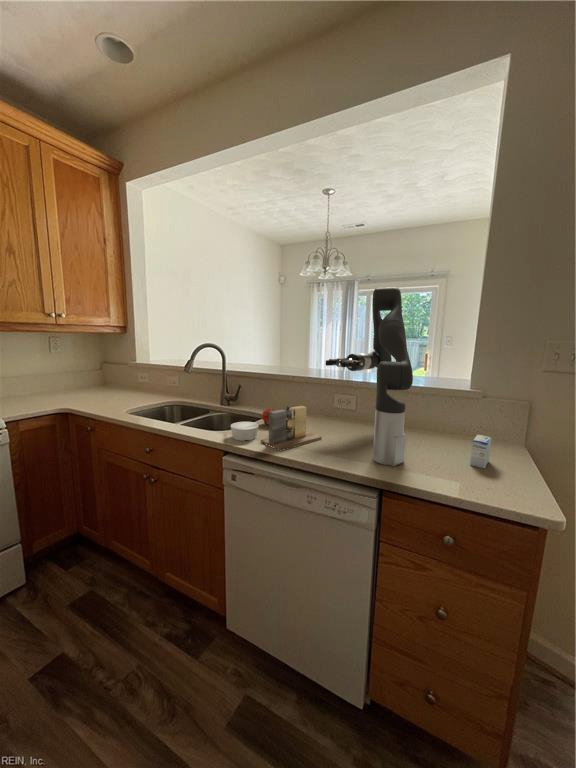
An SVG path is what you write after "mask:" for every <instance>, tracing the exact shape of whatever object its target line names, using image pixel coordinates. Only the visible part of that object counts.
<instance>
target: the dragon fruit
mask: <svg viewBox="0 0 576 768" xmlns="http://www.w3.org/2000/svg"><path fill="white" fill-rule="evenodd" d="M275 410H276V409H274V408H271V407H269V408H267V409H265V410H264V411H263V412H262V413H261V414H262V415H261V416H260V420H263V423H264V425H265V426H267V425H269V412H270V411H275Z"/></svg>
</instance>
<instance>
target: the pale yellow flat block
mask: <svg viewBox="0 0 576 768" xmlns="http://www.w3.org/2000/svg"><path fill="white" fill-rule="evenodd" d="M289 409H292V418H289V419H286V430H290V431H292V438H293V439H297V438H301V437H304V436H306V432H307V406H304V405H298V406H291V407H289Z"/></svg>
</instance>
